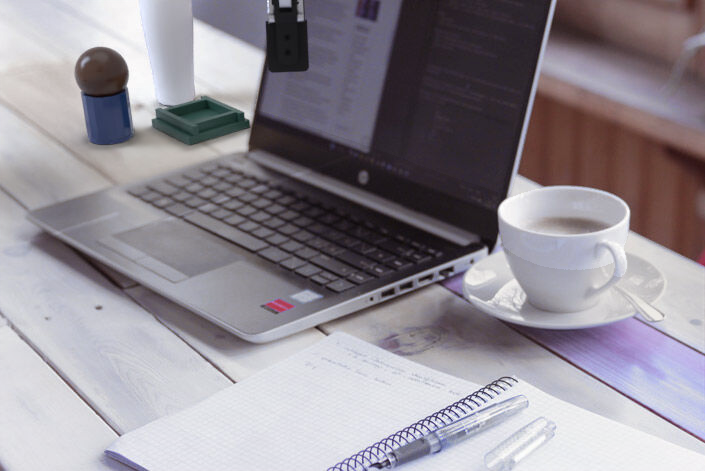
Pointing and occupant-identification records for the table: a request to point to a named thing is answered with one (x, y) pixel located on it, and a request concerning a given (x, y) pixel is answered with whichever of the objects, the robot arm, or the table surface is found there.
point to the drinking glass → (170, 48)
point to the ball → (101, 72)
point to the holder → (199, 120)
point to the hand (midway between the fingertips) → (288, 53)
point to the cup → (108, 118)
